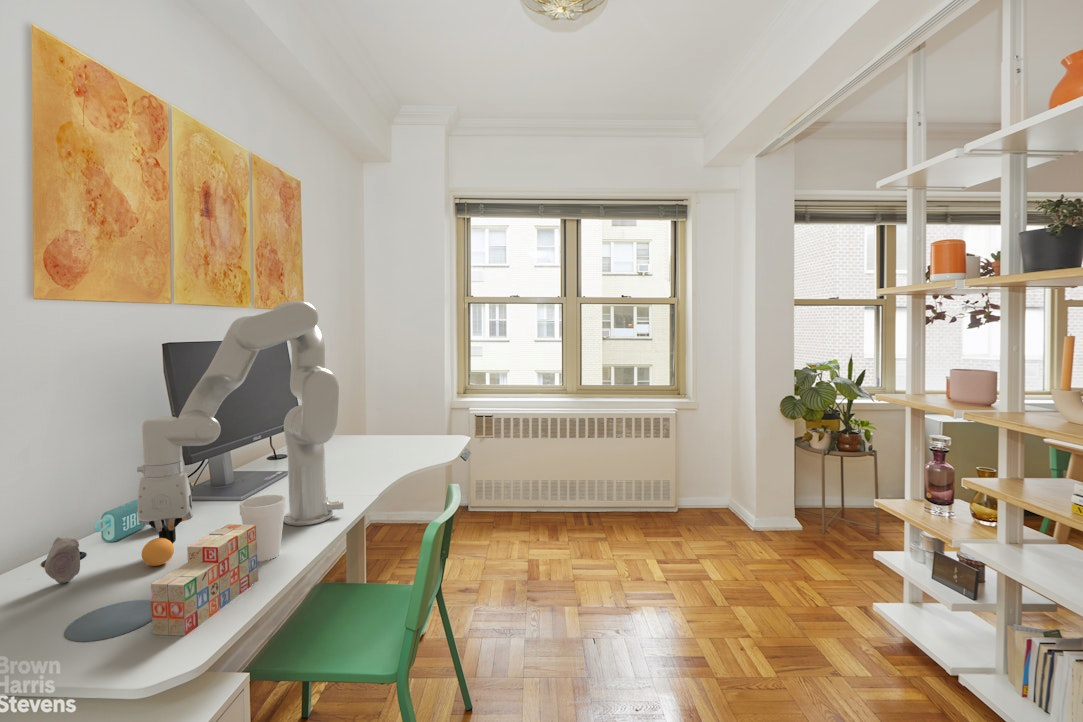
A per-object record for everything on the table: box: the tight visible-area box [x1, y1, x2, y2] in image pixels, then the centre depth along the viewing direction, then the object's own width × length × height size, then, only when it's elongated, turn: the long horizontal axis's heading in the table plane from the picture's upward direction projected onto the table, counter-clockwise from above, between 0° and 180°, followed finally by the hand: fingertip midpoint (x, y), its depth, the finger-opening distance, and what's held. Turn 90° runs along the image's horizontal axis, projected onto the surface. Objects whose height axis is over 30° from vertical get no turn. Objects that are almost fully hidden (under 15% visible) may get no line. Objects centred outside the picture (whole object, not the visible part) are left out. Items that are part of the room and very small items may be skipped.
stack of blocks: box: [150, 524, 259, 637], centre depth 107 cm, size 21×6×12 cm, turn 175°
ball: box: [141, 537, 175, 567], centre depth 125 cm, size 6×6×6 cm
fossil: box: [44, 536, 81, 584], centre depth 116 cm, size 6×4×10 cm, turn 148°
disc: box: [64, 599, 152, 643], centre depth 102 cm, size 14×14×1 cm
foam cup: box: [239, 494, 286, 562], centre depth 129 cm, size 10×9×13 cm
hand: (167, 545), depth 132 cm, fingers closed
